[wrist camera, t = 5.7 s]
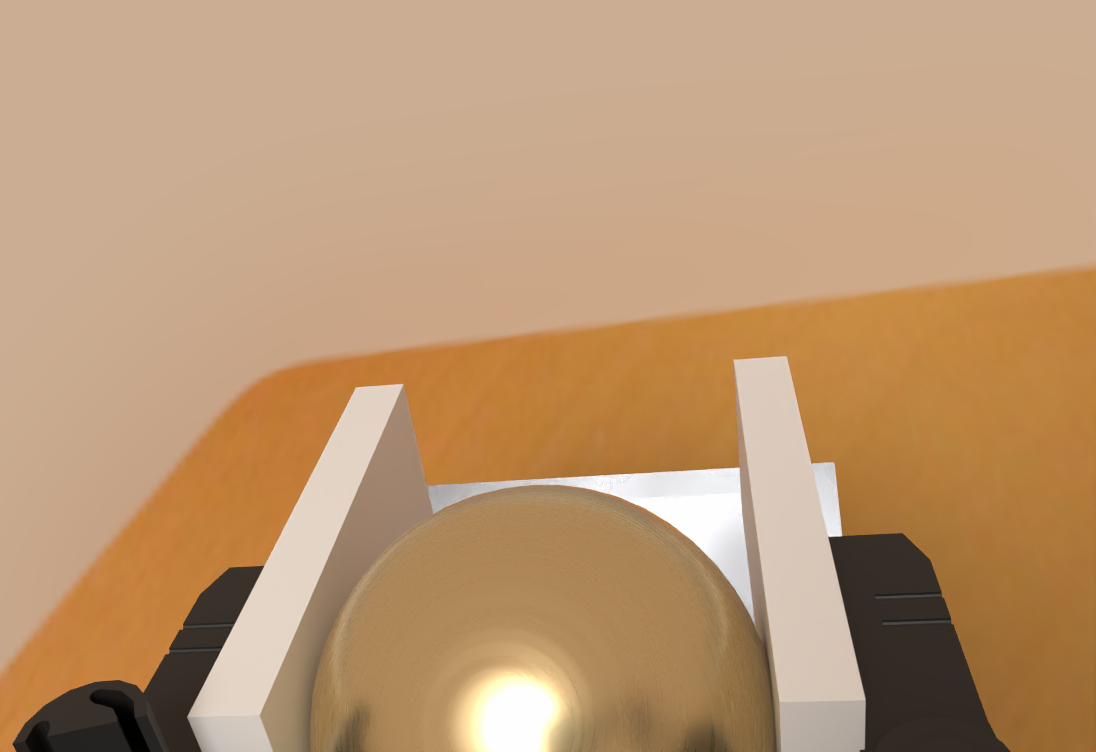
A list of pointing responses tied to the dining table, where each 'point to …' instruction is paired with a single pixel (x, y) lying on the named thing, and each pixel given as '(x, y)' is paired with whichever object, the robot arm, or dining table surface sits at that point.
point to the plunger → (543, 637)
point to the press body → (679, 508)
